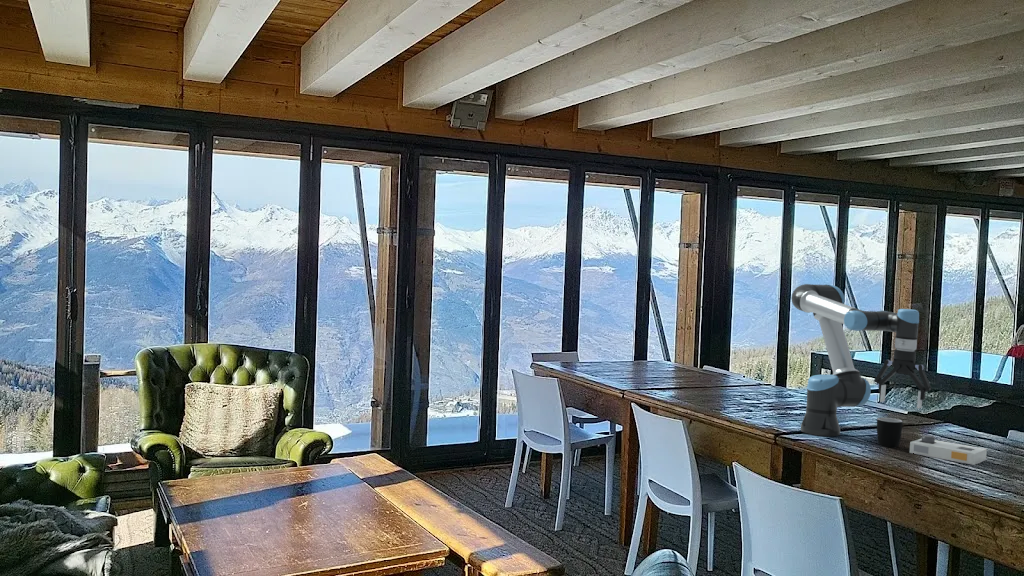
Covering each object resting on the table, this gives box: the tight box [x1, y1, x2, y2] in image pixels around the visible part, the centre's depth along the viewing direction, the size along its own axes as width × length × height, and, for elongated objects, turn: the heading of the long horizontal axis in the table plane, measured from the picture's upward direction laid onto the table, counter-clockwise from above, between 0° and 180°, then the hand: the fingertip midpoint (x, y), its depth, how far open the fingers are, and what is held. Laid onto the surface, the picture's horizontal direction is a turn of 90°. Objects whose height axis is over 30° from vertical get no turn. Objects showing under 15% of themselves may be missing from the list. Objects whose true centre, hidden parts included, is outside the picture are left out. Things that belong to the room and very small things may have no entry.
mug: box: [876, 417, 903, 449], centre depth 325 cm, size 12×9×10 cm
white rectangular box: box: [909, 438, 988, 466], centre depth 310 cm, size 22×13×4 cm, turn 44°
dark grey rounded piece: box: [921, 434, 936, 444], centre depth 315 cm, size 4×4×3 cm
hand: (900, 404), depth 322 cm, fingers open, 13 cm apart
